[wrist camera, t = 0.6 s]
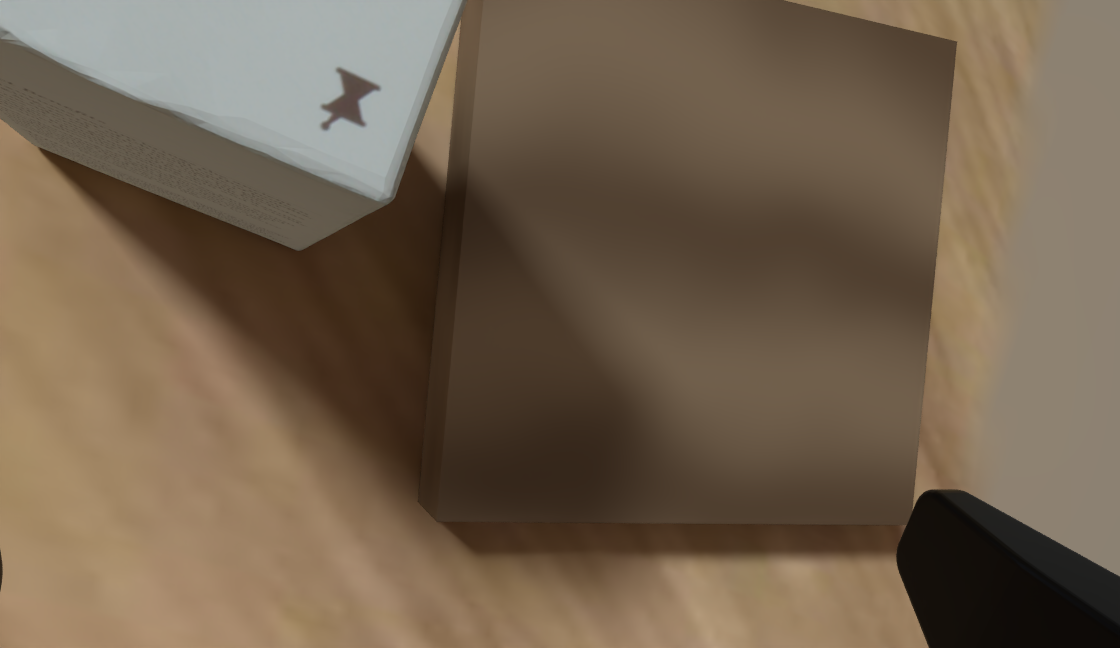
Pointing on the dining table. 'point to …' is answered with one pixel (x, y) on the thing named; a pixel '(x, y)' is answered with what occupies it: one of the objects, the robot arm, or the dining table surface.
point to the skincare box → (231, 99)
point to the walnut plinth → (685, 264)
